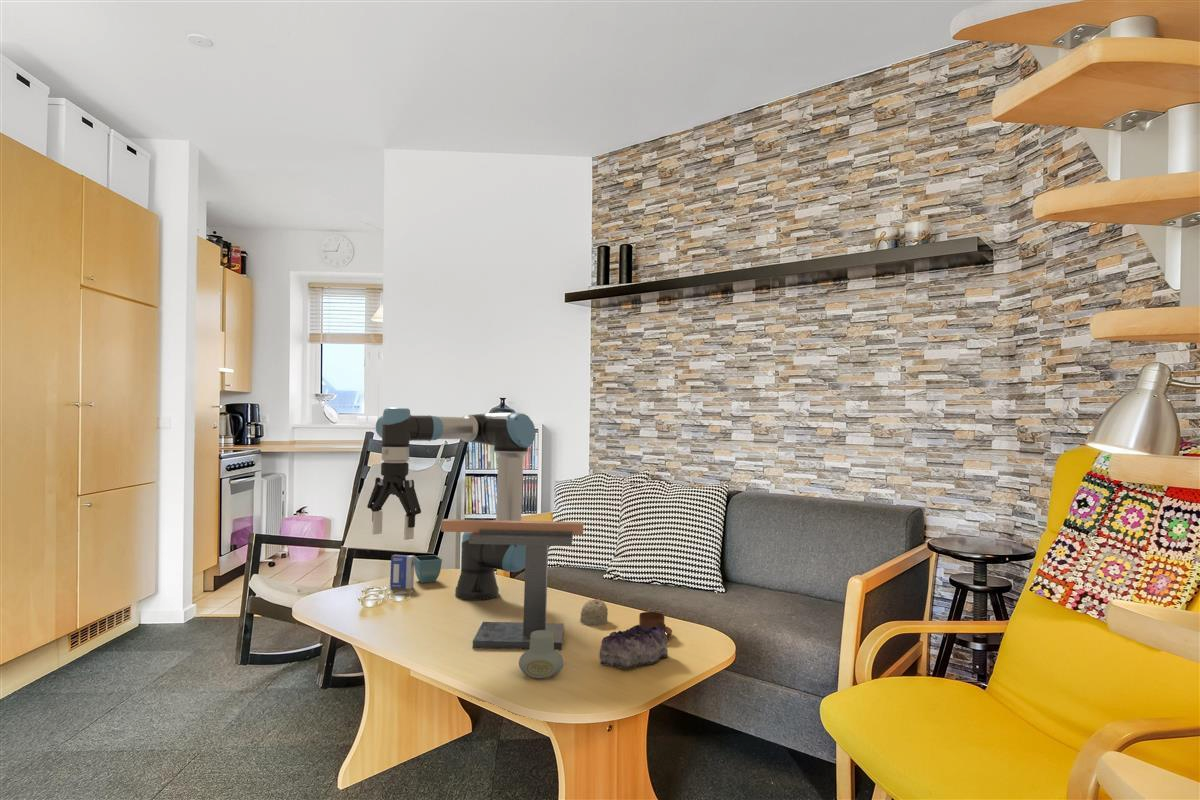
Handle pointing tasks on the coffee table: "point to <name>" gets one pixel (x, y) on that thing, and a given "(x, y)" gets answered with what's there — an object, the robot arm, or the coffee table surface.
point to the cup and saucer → (653, 621)
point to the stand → (534, 590)
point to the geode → (634, 647)
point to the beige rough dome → (594, 613)
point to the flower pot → (427, 568)
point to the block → (509, 525)
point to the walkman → (402, 571)
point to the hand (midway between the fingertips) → (392, 536)
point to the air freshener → (541, 656)
